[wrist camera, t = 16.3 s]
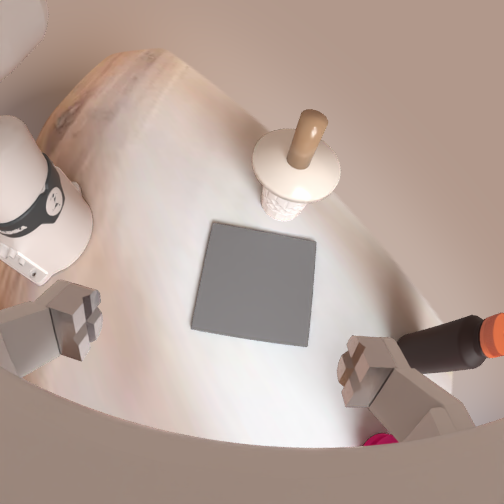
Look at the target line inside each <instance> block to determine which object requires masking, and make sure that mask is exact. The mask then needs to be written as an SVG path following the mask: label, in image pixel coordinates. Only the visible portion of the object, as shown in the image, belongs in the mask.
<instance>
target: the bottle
mask: <svg viewBox="0 0 504 504" xmlns="http://www.w3.org/2000/svg"><path fill="white" fill-rule="evenodd" d="M397 344H398V346H399V348H400V350H401V351H402V353H403V355H404V357H405V358H406V360H407V362H408V364H409V366H410V368H415V369H416V370H417V371H419V372H420V373H422V374H427V373H439V372H449V371H458V370H466V369H474V368H476V367H478V366H480V365H481V364H482V363H483V362H484V361H485V359H486V358H494V357H499V356H504V313H499V314H496V315H493V316H491V317H488V318H486V319H484V320H483V319H481V318H480V317H478V316H474V315H470V316H467V317H464V318H461V319H458V320H455V321H452V322H449V323H445V324H442V325H439V326H435V327H432V328H428V329H425V330H421V331H418V332H414V333H410V334H407V335H404V336H403V337H402V338H401V339H400V340H399V341H398V343H397Z"/></svg>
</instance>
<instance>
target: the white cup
mask: <svg viewBox="0 0 504 504" xmlns="http://www.w3.org/2000/svg"><path fill="white" fill-rule="evenodd" d="M261 202H262V208H263V209H264V211H265V212H266V214H267V215H269V216H270V217H272V218H273V219H275V220H279V221H289V220H293V219H294V218H296V217H297V216H298V215H299V214H300V212H301V211H302V209H303V208H304V207H305V206H306V204H307V203H295V202H290V201H287V200H284V199H281V198H279V197H277V196H275V195H274V194H272V193H271V192H269V191H268V190H267V189H266V188H265V187H264V186H263V190H262V197H261Z"/></svg>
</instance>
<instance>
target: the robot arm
mask: <svg viewBox="0 0 504 504" xmlns="http://www.w3.org/2000/svg"><path fill="white" fill-rule="evenodd" d="M48 15H49V12H48V4H47V1H46V0H0V82H1V81H2V80H3V79H5V78H6V77H7V76H8V75H9V74H10V73H12V72H13V70H14V69H15V68H16V67H17V66H18V65H19V64H20V63H21V62H22V61H23V60H24V59H25V58H26V57H27V56H28V55H29V54H30V53H31V52H32V50H34V48H36V46H37V45H38V44H39V43H40V42H41V41H42V40H43V38H44V35H45V32H46V29H47V24H48V17H49V16H48ZM92 227H93V217H92V212H91V209H90V207H89V205H88V204H87V203H86V201H85V200H84V199H83V197H82V193H81V188H80V186H79V184H78V183H77V182H71V181H70V180H69V179H68V178H67V176H66V175H65V174H64V173H63V172H62V170H61V169H60V168H59V167H57V166H56V167H55V166H54V164H53V162H52V161H51V160H50V159H49V158H48V156H47V155H46V154H44V153H42V152H41V150H40V149H39V147H38V145H37V144H36V142H35V140H34V139H33V137H32V135H31V134H30V132H29V130H28V128H27V127H26V125H25V123H23V121H21V120H20V119H19V118H16V117H14V116H9V115H4V116H0V260H2V261H3V262H5V263H6V264H7V265H9V266H10V267H12V268H13V269H14V270H16V271H17V272H19V273H20V274H22V275H23V276H25V277H26V278H28V279H29V280H31V281H32V282H34V283H35V284H37V285H39V286H40V285H43V284H44V283H45V282H46V281H47V280H48V279H49V278H50V277H51V276H52V275H53V274H55V273H57V272H59V271H61V270H63V269H65V268H67V267H68V266H70V265H71V264H72V263H74V262H75V261H76V260H77V259H78V258H79V256H80V255H81V254H82V252H83V251H84V249H85V248H86V246H87V244H88V242H89V239H90V236H91V233H92ZM35 273H36V275H35V276H34V274H35ZM100 302H101V299H100V293H99V292H98V290H96V289H92V288H89V287H85V286H82V285H79V284H75V283H72V282H68V281H65V280H57V281H56V282H55V283H54V284H53V285H52V286H51V287H50V288H48V289H47V290H46V291H45V292H44V293H43V294H42V295H41V296H40V297H39V298H38V299H36V300H35V301H34V302H31V301H29V302H26V303H22V304H19V305H16V306H13V307H9V308H6V309H3V310H0V504H504V418H502V419H499V420H496V421H493V422H490V423H487V424H484V425H480V426H477V427H475V425H474V423H473V421H472V419H471V417H470V415H469V414H468V412H467V410H466V408H465V406H464V405H463V403H462V402H461V401H459V400H458V399H456V398H455V397H454V396H452V395H451V394H449V393H448V392H447V391H445V390H444V389H443V388H441V387H440V386H438V385H437V384H436V383H434V382H433V381H431V380H430V379H429V378H427V377H426V376H424V375H423V374H422V373H420V372H419V371H417V370H416V369H415V368H410V366H409V364H408V362H407V360H406V358H405V357H404V355H403V353H402V351H401V350H400V348H399V346H398V344H397V342H396V341H395V339H393V338H389V337H366V336H354V335H352V337H351V338H350V339H349V341H348V343H347V348H348V351H347V352H346V353H344V354H343V355H342V356H341V358H340V360H339V363H338V368H337V377H338V381H339V383H340V384H341V385H342V386H344V388H343V390H342V396H343V399H344V403H345V407H365V408H368V409H369V410H370V411H371V412H372V413H373V414H374V415H375V417H376V418H377V419H378V420H379V421H380V422H381V423H382V424H383V425H384V426H385V428H386V429H387V430H388V431H389V432H390V433H391V434H392V435H393V436H394V437H395V438H396V440H397V441H398V443H390V444H381V445H371V446H358V447H338V448H293V447H273V446H260V445H249V444H240V443H232V442H224V441H217V440H211V439H205V438H199V437H194V436H189V435H184V434H179V433H174V432H170V431H165V430H161V429H157V428H153V427H149V426H145V425H142V424H138V423H134V422H131V421H128V420H124V419H121V418H118V417H115V416H111V415H108V414H105V413H102V412H100V411H97V410H94V409H91V408H88V407H86V406H83V405H81V404H78V403H75V402H73V401H70V400H68V399H66V398H63V397H61V396H58V395H56V394H54V393H52V392H49V391H47V390H45V389H43V388H41V387H39V386H37V385H34V384H32V383H30V382H28V381H26V380H24V379H23V378H22V377H24V376H25V375H27V374H29V373H31V372H32V371H34V370H36V369H38V368H39V367H41V366H43V365H45V364H46V363H48V362H50V361H52V360H53V359H55V358H57V357H59V356H60V354H61V355H64V356H67V357H70V358H73V359H76V360H79V361H83V359H84V358H85V356H86V355H87V353H88V351H89V350H90V342H93V341H95V340H96V339H97V338H98V336H99V335H100V331H101V328H102V320H103V319H102V313H101V311H100V310H99V308H98V307H97V306H98V305H99V304H100Z"/></svg>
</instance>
